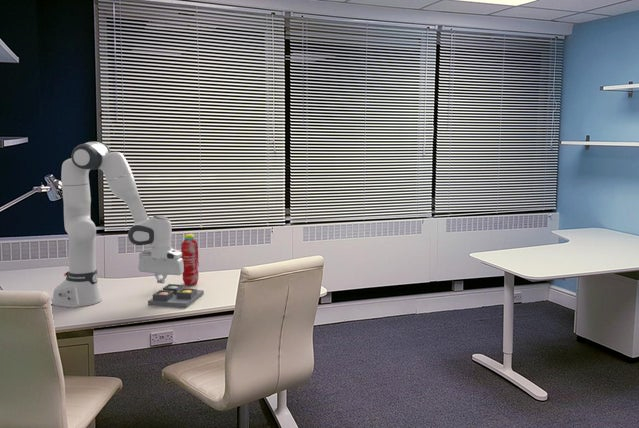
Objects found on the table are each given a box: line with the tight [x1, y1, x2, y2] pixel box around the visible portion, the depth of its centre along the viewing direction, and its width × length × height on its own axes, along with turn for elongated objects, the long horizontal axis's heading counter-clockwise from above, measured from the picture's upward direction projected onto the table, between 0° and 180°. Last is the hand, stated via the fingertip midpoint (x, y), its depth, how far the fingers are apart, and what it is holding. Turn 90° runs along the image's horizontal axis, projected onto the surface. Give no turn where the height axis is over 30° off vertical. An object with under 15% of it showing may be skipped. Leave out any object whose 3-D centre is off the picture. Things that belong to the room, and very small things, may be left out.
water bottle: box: [180, 233, 200, 286], centre depth 291 cm, size 12×8×25 cm, turn 72°
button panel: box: [147, 283, 205, 309], centre depth 268 cm, size 18×20×4 cm
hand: (160, 283), depth 262 cm, fingers closed
